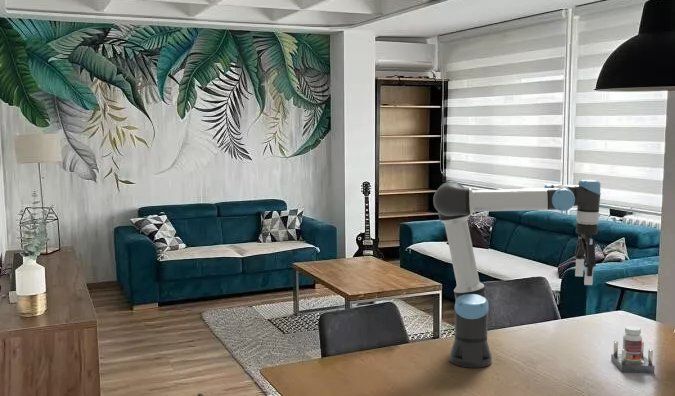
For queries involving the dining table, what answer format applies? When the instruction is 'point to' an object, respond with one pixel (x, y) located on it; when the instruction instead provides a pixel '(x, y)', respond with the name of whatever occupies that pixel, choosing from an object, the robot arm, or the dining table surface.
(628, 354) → the pill bottle
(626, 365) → the chassis
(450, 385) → the dining table surface
